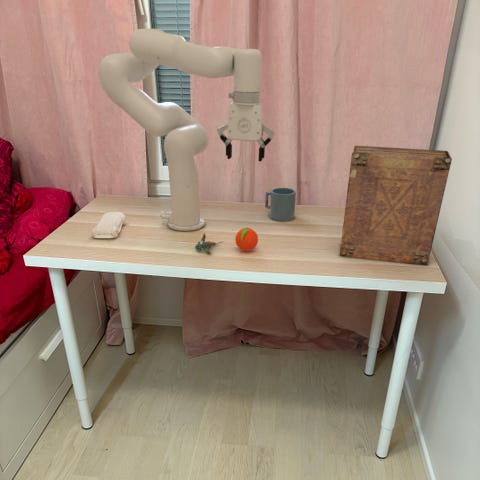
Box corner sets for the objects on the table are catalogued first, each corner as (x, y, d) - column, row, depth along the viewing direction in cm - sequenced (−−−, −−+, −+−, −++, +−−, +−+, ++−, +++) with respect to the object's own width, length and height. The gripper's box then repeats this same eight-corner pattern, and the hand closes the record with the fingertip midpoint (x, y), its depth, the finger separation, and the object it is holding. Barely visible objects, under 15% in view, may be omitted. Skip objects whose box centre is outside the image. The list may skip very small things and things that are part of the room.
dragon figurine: (200, 238, 151) (190, 237, 144) (220, 231, 149) (212, 230, 142) (205, 258, 152) (196, 258, 144) (226, 251, 149) (218, 251, 142)
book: (338, 255, 143) (351, 151, 127) (341, 244, 150) (353, 145, 135) (427, 265, 137) (452, 157, 121) (426, 253, 144) (448, 150, 129)
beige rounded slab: (116, 239, 153) (114, 226, 151) (91, 239, 153) (89, 226, 151) (128, 221, 169) (126, 208, 166) (105, 220, 169) (104, 208, 167)
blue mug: (298, 216, 173) (300, 190, 168) (285, 222, 168) (286, 196, 163) (272, 209, 180) (273, 184, 175) (258, 215, 174) (258, 189, 169)
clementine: (252, 257, 142) (252, 234, 138) (230, 254, 144) (230, 231, 140) (260, 247, 148) (261, 225, 144) (239, 244, 150) (240, 222, 147)
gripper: (214, 98, 135) (214, 160, 144) (274, 101, 132) (271, 164, 141) (220, 95, 141) (220, 154, 150) (278, 98, 138) (274, 158, 147)
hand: (244, 159), depth 146 cm, fingers open, 9 cm apart
